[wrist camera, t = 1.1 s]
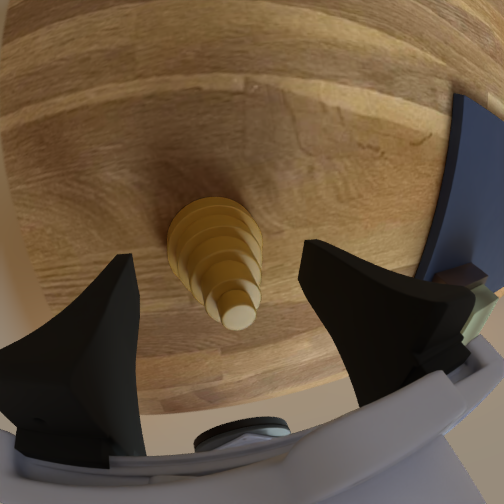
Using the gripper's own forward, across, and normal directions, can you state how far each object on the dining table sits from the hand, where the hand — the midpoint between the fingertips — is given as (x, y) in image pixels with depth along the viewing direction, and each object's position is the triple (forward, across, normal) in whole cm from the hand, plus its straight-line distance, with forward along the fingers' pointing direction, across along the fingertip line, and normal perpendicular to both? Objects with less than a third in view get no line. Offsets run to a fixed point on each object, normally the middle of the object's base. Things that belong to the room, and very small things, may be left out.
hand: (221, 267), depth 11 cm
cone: (+3, 0, 0) cm, 3 cm away
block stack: (+2, -21, +7) cm, 22 cm away
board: (+3, -31, 0) cm, 31 cm away
